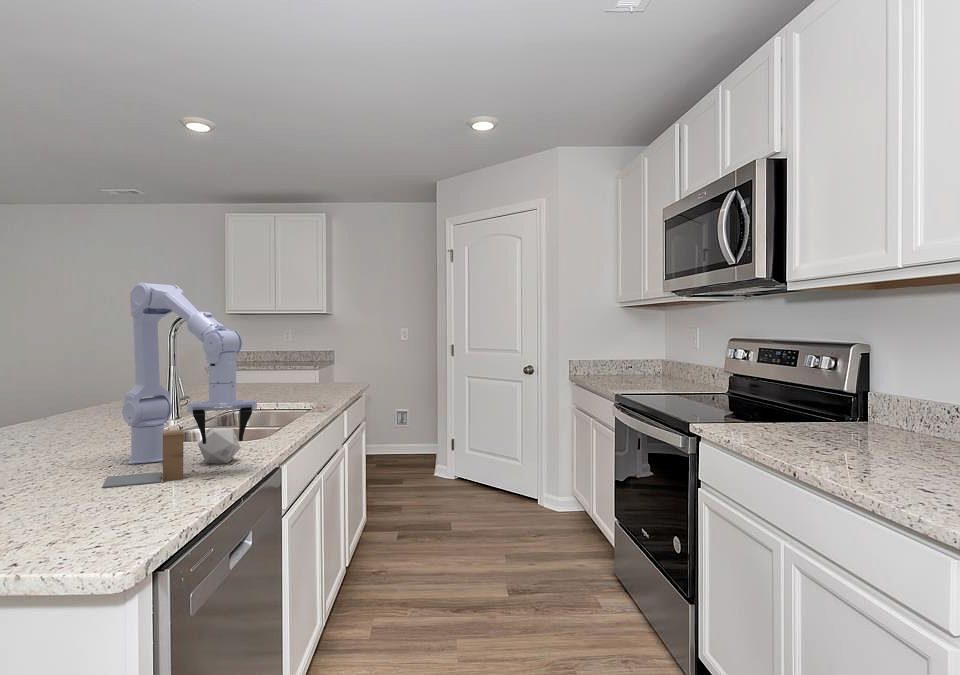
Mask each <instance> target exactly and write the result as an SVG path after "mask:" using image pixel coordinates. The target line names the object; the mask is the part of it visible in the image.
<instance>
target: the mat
mask: <svg viewBox="0 0 960 675" xmlns="http://www.w3.org/2000/svg"><path fill="white" fill-rule="evenodd" d="M162 476H163V471H156V472H147V473H146V472H143V473H133V474H132V473H131V474H122V475H113V476H106V477H105V478H106V479H105V480H104V482H103V484H102V485H101V489H105V488H106V489H108V488H118V487H127V486H128V487H131V486H140V485H150V484H159V483H161V481H162Z"/></svg>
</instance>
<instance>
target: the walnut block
mask: <svg viewBox="0 0 960 675" xmlns="http://www.w3.org/2000/svg"><path fill="white" fill-rule="evenodd" d="M183 480H184V429H175V430H173V429H171V430H164V431H163V461H162V482H171V481H183Z"/></svg>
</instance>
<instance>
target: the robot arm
mask: <svg viewBox="0 0 960 675" xmlns="http://www.w3.org/2000/svg"><path fill="white" fill-rule="evenodd" d="M129 298H130V315H131V316H132V322H133V328H132V329H133V348H134V352H133V353H134V371H135V372H134V376H135V377H134V379H135V385H134V387H132V388H131V389H130V390H129V391H128V392H127V393H125V394H124V401H123V406H122V410H121V414H122V417H123V418H122V419H123V420H124V421H125V423H126V424H127V426H129V427H130V457H129V459H128V461H127V464H128V465H134V464H148V463H157V462H158V463H161V462H163V431H165V424H167V423H168V419H170V418H171V415H172V414H173V405H172V402H171V399H170V392H169V390H167V389H166V388H165V387H163V386H162V385H161V383H160V382H161V380H160V379H161V378H160V352H159V348H160V347H159V330H158V329H159V327H158V325H159V324H158V323H159V321H161V320H162V319H163V318H165V317H167V316H168V315H170V314H172V313H174V314H175V315H177V316H179V318H181V319H182V320H184V321H185V322H187V324H186V325H187V329H188V331H189V332H190V333H191V334H193V335H194V336H195V337H196V338H197V339H198V340H199V341H200V342H201V343H202V348H203V350H204V353H205V356H206V361H207V363H208V401H197V402H195V401H194V402H187V411H186V412H187V413H192V416H193V418H194V421H195V422H196V425H197V427H198V429H199V432H200V435H201V436H200V437H201V440H202V443H203V444H206V434H207V432H206V412H213V411H232V410H233V411H234V410H238V417H239V419H238V420H239V426H238V427H239V428H238V442H243V441H244V435H245V431H246V427H247V424H248V422H249V420H250V418H251V416H252V413H253V410H257V409H258V408H257V407H258V404H257V403H258V401H257V400H256V399H237V354H238V353H239V352H240V351H241V350H242V346H243V339H242V337H241V334H240V333H239V332H238V330H236V329H229V328H226V327H225V325H223V323H221V322H219V321H217V320H216V319H215V318H214V317H213V314H212V313H211V312H210V311H199V310H198V309H197V308H196V307H195V306H194V305H193V304H192V303H191V302H190V301H189V299H187V298H186V296H185V292H184V290H183V289H181V288H180V286H178V285H177V284H159V283H149V282H147V283H146V282H143V281H141V282H138V283H136V284H135V285H134V286H133V288H132V290H131V291H130V292H129Z"/></svg>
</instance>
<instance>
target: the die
mask: <svg viewBox="0 0 960 675" xmlns="http://www.w3.org/2000/svg"><path fill="white" fill-rule="evenodd" d="M239 442H240V441H239V439H238V437H237V435H236V433H235V431H234V429H233V428H211V429H210V430H208V432H206V444H203V443H202V439H201V440H199V442H198V443H197V445H198V447H199V451H200V452H201V454H202V457H203V459H204V461H205V463H206V464H229V462H230V461H231V460H232V459H233V458H234V456H236V454H237V453H238V452H239V451H240V449H241V444H240V443H239Z"/></svg>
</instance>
